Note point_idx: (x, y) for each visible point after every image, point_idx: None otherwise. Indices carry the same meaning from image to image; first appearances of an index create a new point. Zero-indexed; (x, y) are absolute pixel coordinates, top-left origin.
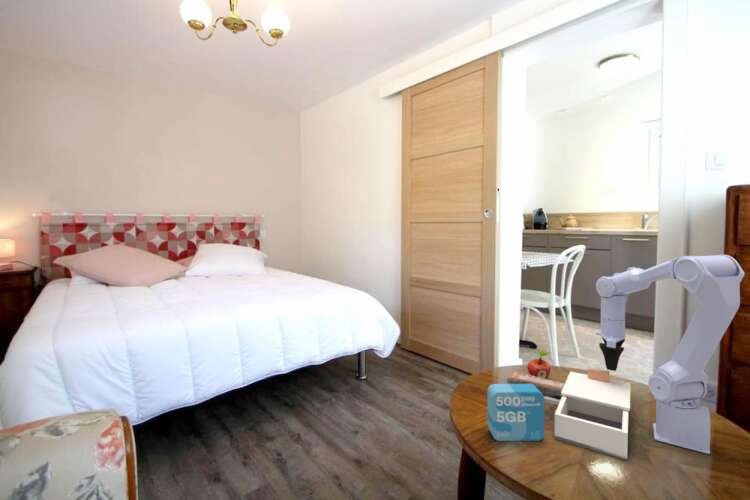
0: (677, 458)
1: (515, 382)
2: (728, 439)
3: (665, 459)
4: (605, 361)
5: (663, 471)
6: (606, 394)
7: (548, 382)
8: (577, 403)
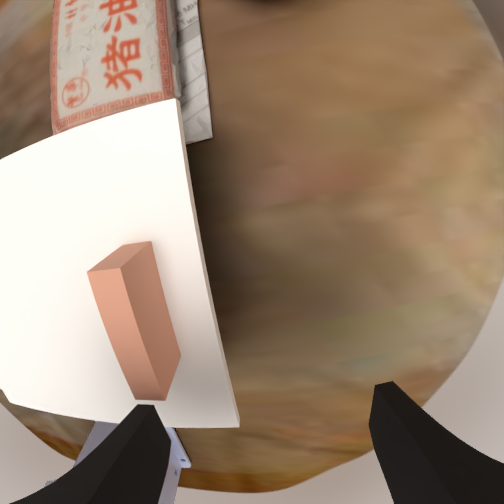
0: (62, 416)
1: None
2: (222, 483)
3: None
4: (100, 445)
5: None
6: (23, 350)
7: (86, 41)
8: None
